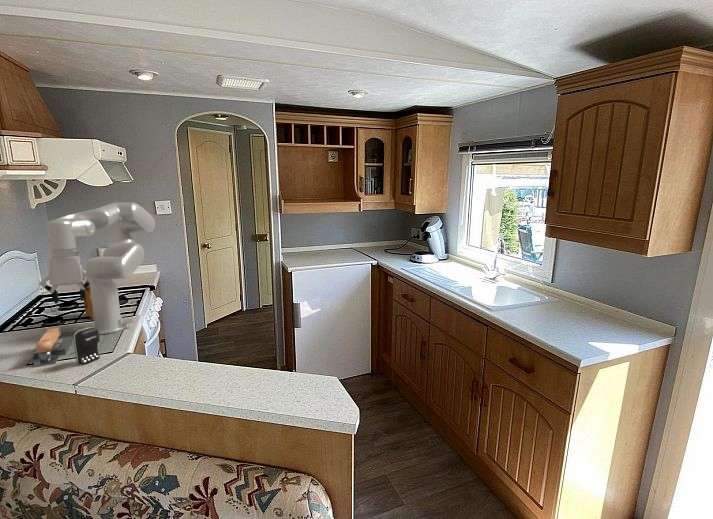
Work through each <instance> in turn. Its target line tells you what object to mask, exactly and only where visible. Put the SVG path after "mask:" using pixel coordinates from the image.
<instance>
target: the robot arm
mask: <svg viewBox="0 0 713 519" xmlns="http://www.w3.org/2000/svg"><path fill="white" fill-rule="evenodd" d="M114 225H115V232H116V238H115V239H114V240H113V241H112V242H111V243H110V244H109V245H108V246H107V247H106V248H105V249H104V251H103V253H102V256H95V257H92V258H90V259H88V260H87V261H86V263H85V265H84V267H83V263H82V259H81V256H79V254H82V250H81V249H77V245H76V244H77V243H76V239H87V238H88V239H89V238H90V237H92V236H93V235H94V234H95V232H96V231H98V230H104V229H107V228H109V227H111V226H114ZM46 226H47V227H46V229H47V235H48V242H49V249H50V250H49V251H50V258H49V259H48V267H47V268H48V275H47V276H46V277H45V278H44V279H42V280H41V281H39V283H38V284H39V285H40V286H41V287H43V289H45V290H46V291H48V292H49V293H51V300H52V302H54V304H58V303H59V301H60V299H59V291H58V290H57V288H58V287H59V286H69V285H77V286H78V287H79V297H80V302H81V301H83V302H84V298H86V294H85V288H86V287H87V286H88V285H89V284H90V289H91V297H92V306H93V315H94V319H93V321H94V322H93V323H94V327H93V328H96V329H97V330H98V332H99V335H105V334H106V335H107V334H108V333H109V334H114V333H117V332H121V331H123V330H125V329H126V324H133V323H134V319H133V318H123V316H122V315H121V309H120V307H121V306H120V299H119V291H118V290H119V288H118V286H117V284H116V282H115V281H114V280H125V279H128V278H130V277H131V276H132V275H133V274H134V273H135V272H136V270H137V269H138V268H140V265H141V264H142V263H143V261H144V259H145V249H144V247H143V246H142V245H141V244H139V243H137V242H136V239H135V237H133V236H132V234H146V233H147V234H149V233H152V232H153V231H154V230H155V228H156V221H155V218H154V217H153V216H152V215H151V214H150V213H149V212H148V211H147V210H146V209H145V208H144V207H143V206H141V205H139V204H138V203H136V202H112V203H109V204H106V205H103V206H101V207H97V208H95V209H90V210H85V211H80V212H75V213H71V214H67V215H64V216H61V217H58V218H56V219H53V220H50V221H48V222H47V224H46ZM84 271H85V272H84ZM85 279H86V280H87V279H88V281H87V282H86V281H85ZM84 281H85V282H86V283H85V282H84ZM47 282H49V284H50V285H51V286H50V285H49V284H48V283H47ZM83 282H84V283H83Z"/></svg>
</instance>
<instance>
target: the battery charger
mask: <svg viewBox="0 0 713 519" xmlns="http://www.w3.org/2000/svg"><path fill="white" fill-rule="evenodd" d="M72 337H73V338H72V341H73V347H74V353H75V362H76V364H77V365H83V366H84V365H87V364H90V363H92V362H95V361H97V360H99V359H100V358H101V357H100V353H99V348H98V347H99V346H98V343H99V342H101V340H100V339H101V338H100V334H99V332H98V330H97V329H96V328H94V327H85V328H82V329H79V330H77V331H74V333H73V336H72Z"/></svg>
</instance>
